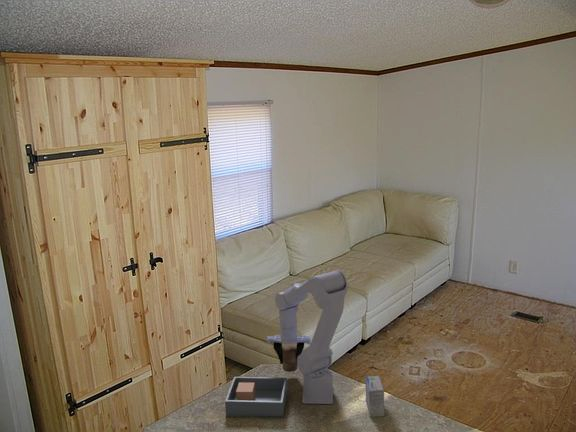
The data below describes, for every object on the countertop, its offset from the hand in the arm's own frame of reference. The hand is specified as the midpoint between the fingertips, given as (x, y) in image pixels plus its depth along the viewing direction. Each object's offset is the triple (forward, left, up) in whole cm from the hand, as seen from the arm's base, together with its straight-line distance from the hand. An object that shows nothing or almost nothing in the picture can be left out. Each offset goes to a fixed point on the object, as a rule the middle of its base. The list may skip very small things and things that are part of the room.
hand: (289, 362), depth 156 cm
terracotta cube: (+12, +15, -5) cm, 20 cm away
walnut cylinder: (0, 0, -2) cm, 2 cm away
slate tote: (+9, +15, -5) cm, 19 cm away
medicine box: (-27, +17, -6) cm, 32 cm away
